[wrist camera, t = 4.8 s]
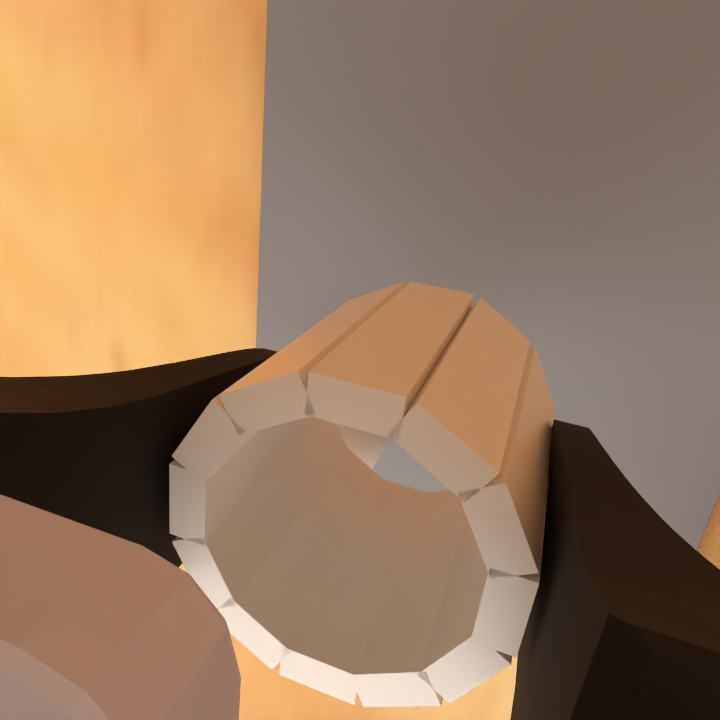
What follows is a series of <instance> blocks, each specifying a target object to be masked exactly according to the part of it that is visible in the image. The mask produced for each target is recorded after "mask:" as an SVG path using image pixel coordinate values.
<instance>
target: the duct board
mask: <svg viewBox="0 0 720 720" xmlns="http://www.w3.org/2000/svg"><path fill="white" fill-rule="evenodd" d="M411 281H413V282H418V283H423V284H428V285H432V286H437V287H442V288H447V289H452V290H457V291H461V292H466V293H471V294H474V296H473V301H472V305H471V308H472V307H473V306H474V304H475V303H476V302H477V301H478V300H479V299H480V298H482V299H483V300H484V301H485V302H487V303H488V304H489V305H490V306H491V307H492V308H494V309H495V310H496V311H497V312H498V313H499V314H500V315H502V316H503V317H504V318H505V319H506V320H507V321H509V322H510V323H511V324H512V325H513V326H514V327H516V328H517V329H518V330H519V331H520V332H521V333H522V334H524V335H525V336H526V337H527V338H528V339H529V340H531V341H530V345H529V348H533V347H535V349H536V352H537V355H538V358H539V361H540V364H541V367H542V370H543V373H544V376H545V379H546V382H547V385H548V388H549V391H550V394H551V397H552V400H553V403H554V412H555V414H554V419H555V420H559V421H563V422H567V423H571V424H575V425H579V426H584V427H588V428H590V430H591V431H592V432H593V434H594V435H595V436H596V438H597V439H598V441H599V442H600V443H601V445H602V446H603V448H604V449H605V451H606V452H607V453H608V455H609V456H610V457H611V459H612V460H613V462H614V463H615V464H616V466H617V467H618V468H619V469H620V471H621V472H622V473H623V475H624V476H625V477H626V478H627V480H628V481H629V482H630V483H631V485H632V486H633V487H634V488H635V489H636V490H637V492H638V493H639V494H640V495H641V496H642V497H643V499H644V500H645V501H646V502H647V503H648V504H649V505H650V506H651V507H652V508H653V509H654V510H655V512H656V513H657V514H658V515H659V516H660V517H661V518H662V519H663V520H664V521H665V522H666V523H667V524H668V525H669V526H670V527H671V528H672V529H673V530H674V531H675V532H676V533H677V534H679V535H680V536H681V537H682V538H683V539H684V540H685V541H686V542H687V543H689V544H690V545H691V546H692V547H693V548H694V549H695V550H696V551H697V550H698V547H699V545H700V542H701V540H702V537H703V534H704V532H705V529H706V527H707V524H708V522H709V519H710V517H711V514H712V512H713V509H714V507H715V504H716V502H717V499H718V496H719V494H720V0H268V5H267V35H266V65H265V95H264V126H263V156H262V186H261V216H260V246H259V277H258V307H257V337H256V348H265V349H269V350H273V351H277V352H278V351H280V350H281V349H282V348H284V347H285V346H287V345H288V344H289V343H291V342H292V341H293V340H295V339H296V338H298V337H299V336H300V335H302V334H303V333H304V332H306V331H307V330H309V329H310V328H311V327H313V326H314V325H316V324H317V323H318V322H320V321H321V320H322V319H324V318H325V317H327V316H328V315H329V314H331V313H332V312H333V311H335V310H336V309H338V308H339V307H340V306H342V305H343V304H345V303H346V302H347V301H349V300H351V299H354V298H357V297H360V296H363V295H366V294H369V293H372V292H375V291H378V290H380V289H383V288H386V287H389V286H392V285H395V284H398V283H401V282H404V283H405V286H406V285H407V284H408V283H409V282H411ZM338 427H339V429H340V431H341V434H342V436H343V439H344V441H345V443H346V446H347V448H348V449H349V450H351V451H352V452H353V453H354V454H355V455H356V456H357V457H358V458H360V459H361V460H362V461H363V462H364V463H365V464H366V465H368V466H369V467H370V468H371V469H372V470H373V471H374V472H376V473H377V474H378V475H379V476H380V477H381V478H382V479H384V480H387V481H391V482H394V483H397V484H401V485H404V486H407V487H411V488H414V489H417V490H421V491H424V492H427V493H433V492H439V491H444V490H450V489H449V488H447V487H446V486H445V485H444V484H443V483H442V482H441V481H439V480H438V479H437V478H436V477H435V476H434V475H433V474H431V473H430V472H429V471H428V470H427V469H426V468H425V467H423V466H422V465H421V464H420V463H419V462H418V461H417V460H415V459H414V458H413V457H412V456H411V455H410V454H409V453H407V452H406V451H405V450H404V449H403V448H402V447H401V446H400V445H398V444H397V443H396V442H395V441H394V440H393V439H390V438H386V437H383V436H379V435H376V434H372V433H368V432H365V431H361V430H358V429H354V428H351V427H347V426H343V425H340V424H338Z"/></svg>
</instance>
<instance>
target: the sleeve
mask: <svg viewBox="0 0 720 720" xmlns="http://www.w3.org/2000/svg"><path fill="white" fill-rule="evenodd" d="M473 296H474V294H471V293H466V292H461V291H457V290H452V289H447V288H442V287H437V286H432V285H428V284H423V283H418V282H413V281H411V282H409V283H408V284H407V285H406V286H405V283H404V282H401V283H398V284H395V285H392V286H389V287H386V288H383V289H380V290H378V291H375V292H372V293H369V294H366V295H363V296H360V297H357V298H354V299H351V300H349V301H347V302H346V303H345V304H343V305H342V306H340V307H339V308H338V309H336V310H335V311H333V312H332V313H331V314H329V315H328V316H327V317H325V318H324V319H322V320H321V321H320V322H318V323H317V324H316V325H314V326H313V327H311V328H310V329H309V330H307V331H306V332H304V333H303V334H302V335H300V336H299V337H298V338H296V339H295V340H293V341H292V342H291V343H289V344H288V345H287V346H285V347H284V348H282V349H281V350H280V351H278V352H277V353H276V354H274V355H273V356H271V357H270V358H269V359H267V360H266V361H265V362H263V363H262V364H260V365H259V366H258V367H256V368H255V369H253V370H252V371H251V372H249V373H248V374H247V375H245V376H244V377H242V378H241V379H240V380H238V381H237V382H236V383H234V384H233V385H231V386H230V387H229V388H227V389H226V390H225V391H223V392H222V393H220V394H219V395H218V396H216V397H215V398H214V399H212V400H211V402H210V403H209V404H208V406H207V407H206V409H205V410H204V411H203V413H202V414H201V416H200V417H199V418H198V420H197V421H196V423H195V424H194V425H193V427H192V428H191V430H190V431H189V432H188V434H187V435H186V437H185V438H184V439H183V441H182V442H181V444H180V445H179V446H178V448H177V449H176V451H175V452H174V453H173V455H172V457H173V458H174V459H175V460H174V461H172V462H171V463H170V464H169V505H170V534H172V535H175V536H177V537H176V538H175V539H174V540H173V541H172V543H173V545H174V547H175V549H176V551H177V553H178V555H179V557H180V559H181V561H182V563H183V565H184V567H185V569H186V571H187V573H188V574H190V575H191V577H192V578H193V579H194V580H195V582H196V583H197V584H198V585H199V587H200V588H201V589H202V590H203V592H204V593H205V594H206V596H207V597H208V598H209V599H210V601H211V602H212V603H213V604H214V606H215V607H216V608H218V611H219V612H220V613H221V615H222V616H223V617H224V618H225V620H226V623H227V626H228V629H229V632H230V633H231V634H232V635H233V636H234V637H235V638H237V639H238V640H239V641H240V642H241V643H242V644H243V645H244V646H245V647H247V648H248V649H249V650H250V651H251V652H252V653H253V654H254V655H256V656H257V657H258V658H259V659H260V660H261V661H262V662H263V663H264V664H266V665H267V666H268V667H269V668H270V669H271V670H272V669H273V668H274V667H275V666H276V665H277V664H279V663H280V662H281V664H280V675H281V676H284V677H286V678H289V679H291V680H294V681H296V682H298V683H301V684H303V685H306V686H308V687H311V688H313V689H316V690H318V691H321V692H323V693H326V694H328V695H330V696H333V697H335V698H338V699H340V700H343V701H345V702H348V703H350V704H353V705H355V702H356V700H357V697H358V696H359V698H360V700H361V703H362V705H363V707H398V706H441V703H442V699H443V698H444V699H445V700H446V701H447V702H448V703H451V702H453V701H454V700H456V699H457V698H459V697H461V696H462V695H464V694H465V693H467V692H468V691H470V690H472V689H473V688H475V687H476V686H478V685H479V684H481V683H483V682H484V681H486V680H487V679H489V678H490V677H492V676H494V675H495V674H497V673H498V672H500V671H502V670H503V669H505V668H506V667H508V666H509V665H511V661H512V656H513V657H517V654H518V651H519V648H520V644H521V641H522V638H523V635H524V631H525V628H526V625H527V622H528V618H529V615H530V612H531V609H532V605H533V602H534V599H535V596H536V592H537V589H538V586H539V581H540V570H541V559H542V547H543V536H544V525H545V514H546V503H547V492H548V481H549V479H548V469H549V453H550V442H551V432H552V425H553V422H554V414H555V412H554V403H553V400H552V397H551V394H550V391H549V388H548V385H547V382H546V379H545V376H544V373H543V370H542V367H541V364H540V361H539V358H538V355H537V352H536V349H535V347H533V348H529V345H530V341H531V340H529V339H528V338H527V337H526V336H525V335H524V334H522V333H521V332H520V331H519V330H518V329H517V328H516V327H514V326H513V325H512V324H511V323H510V322H509V321H507V320H506V319H505V318H504V317H503V316H502V315H500V314H499V313H498V312H497V311H496V310H495V309H494V308H492V307H491V306H490V305H489V304H488V303H487V302H485V301H484V300H483V299H482V298H480V299H479V300H478V301H477V302H476V303H475V304H474V306H473V307H472V308H471V305H472V301H473ZM338 424H340V425H343V426H347V427H351V428H354V429H358V430H361V431H365V432H368V433H372V434H376V435H379V436H383V437H386V438H390V439H393V440H394V441H395V442H396V443H397V444H398V445H400V446H401V447H402V448H403V449H404V450H405V451H406V452H407V453H409V454H410V455H411V456H412V457H413V458H414V459H415V460H417V461H418V462H419V463H420V464H421V465H422V466H423V467H425V468H426V469H427V470H428V471H429V472H430V473H431V474H433V475H434V476H435V477H436V478H437V479H438V480H439V481H441V482H442V483H443V484H444V485H445V486H446V487H447V488H449V489H450V490H444V491H439V492H433V493H427V492H424V491H421V490H417V489H414V488H411V487H407V486H404V485H401V484H397V483H394V482H391V481H387V480H384V479H382V478H381V477H380V476H379V475H378V474H377V473H376V472H374V471H373V470H372V469H371V468H370V467H369V466H368V465H366V464H365V463H364V462H363V461H362V460H361V459H360V458H358V457H357V456H356V455H355V454H354V453H353V452H352V451H351V450H349V449H348V448H347V446H346V443H345V441H344V439H343V436H342V434H341V431H340V429H339V427H338Z"/></svg>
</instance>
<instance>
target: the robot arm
mask: <svg viewBox="0 0 720 720" xmlns="http://www.w3.org/2000/svg"><path fill="white" fill-rule="evenodd" d="M276 353H277V351H273V350H269V349H265V348H253V349H244V350H238V351H232V352H227V353H221V354H216V355H211V356H206V357H201V358H196V359H192V360H187V361H182V362H176V363H170V364H164V365H158V366H153V367H147V368H141V369H135V370H128V371H120V372H112V373H102V374H90V375H78V376H52V377H0V720H239V702H240V682H241V677H240V673H239V669H238V665H237V661H236V657H235V653H234V649H233V645H232V641H231V637H230V633H229V629H228V626H227V623H226V620H225V618H224V617H223V616H222V615H221V613H220V612H219V611H218V609H217V608H216V607H215V606H214V604H213V603H212V602H211V601H210V599H209V598H208V597H207V596H206V594H205V593H204V592H203V590H202V589H201V588H200V587H199V585H198V584H197V583H196V582H195V580H194V579H193V578H192V577H191V575H190V574H188V573H187V572H185V571H183V570H182V569H180V568H179V566H180V565H181V564H182V561H181V559H180V557H179V555H178V553H177V551H176V549H175V547H174V545H173V543H172V541H173V540H174V539H175V538H176V537H177V536H175V535H172V534H170V505H169V464H170V463H171V462H172V461H174V460H175V459H174V458H173V457H172V455H173V453H174V452H175V451H176V449H177V448H178V446H179V445H180V444H181V442H182V441H183V439H184V438H185V437H186V435H187V434H188V432H189V431H190V430H191V428H192V427H193V425H194V424H195V423H196V421H197V420H198V418H199V417H200V416H201V414H202V413H203V411H204V410H205V409H206V407H207V406H208V404H209V403H210V402H211V400H212V399H214V398H215V397H216V396H218V395H219V394H220V393H222V392H223V391H225V390H226V389H227V388H229V387H230V386H231V385H233V384H234V383H236V382H237V381H238V380H240V379H241V378H242V377H244V376H245V375H247V374H248V373H249V372H251V371H252V370H253V369H255V368H256V367H258V366H259V365H260V364H262V363H263V362H265V361H266V360H267V359H269V358H270V357H271V356H273V355H274V354H276ZM548 479H549V481H548V492H547V503H546V514H545V525H544V536H543V547H542V559H541V570H540V581H539V586H538V589H537V592H536V596H535V599H534V602H533V605H532V609H531V612H530V615H529V618H528V622H527V625H526V628H525V631H524V635H523V638H522V641H521V644H520V648H519V651H518V661H517V673H516V685H515V693H514V700H513V707H512V714H511V720H720V570H719V569H718V568H717V567H716V566H714V565H713V564H712V563H711V562H709V561H708V560H707V559H706V558H704V557H703V556H702V555H701V554H700V553H699V552H697V551H696V550H695V549H694V548H693V547H692V546H691V545H690V544H689V543H687V542H686V541H685V540H684V539H683V538H682V537H681V536H680V535H679V534H677V533H676V532H675V531H674V530H673V529H672V528H671V527H670V526H669V525H668V524H667V523H666V522H665V521H664V520H663V519H662V518H661V517H660V516H659V515H658V514H657V513H656V512H655V510H654V509H653V508H652V507H651V506H650V505H649V504H648V503H647V502H646V501H645V500H644V499H643V497H642V496H641V495H640V494H639V493H638V492H637V490H636V489H635V488H634V487H633V486H632V485H631V483H630V482H629V481H628V480H627V478H626V477H625V476H624V475H623V473H622V472H621V471H620V469H619V468H618V467H617V466H616V464H615V463H614V462H613V460H612V459H611V457H610V456H609V455H608V453H607V452H606V451H605V449H604V448H603V446H602V445H601V443H600V442H599V441H598V439H597V438H596V436H595V435H594V434H593V432H592V431H591V430H590V428H588V427H584V426H579V425H575V424H571V423H567V422H563V421H559V420H555V419H554V422H553V425H552V432H551V442H550V453H549V469H548Z"/></svg>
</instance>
